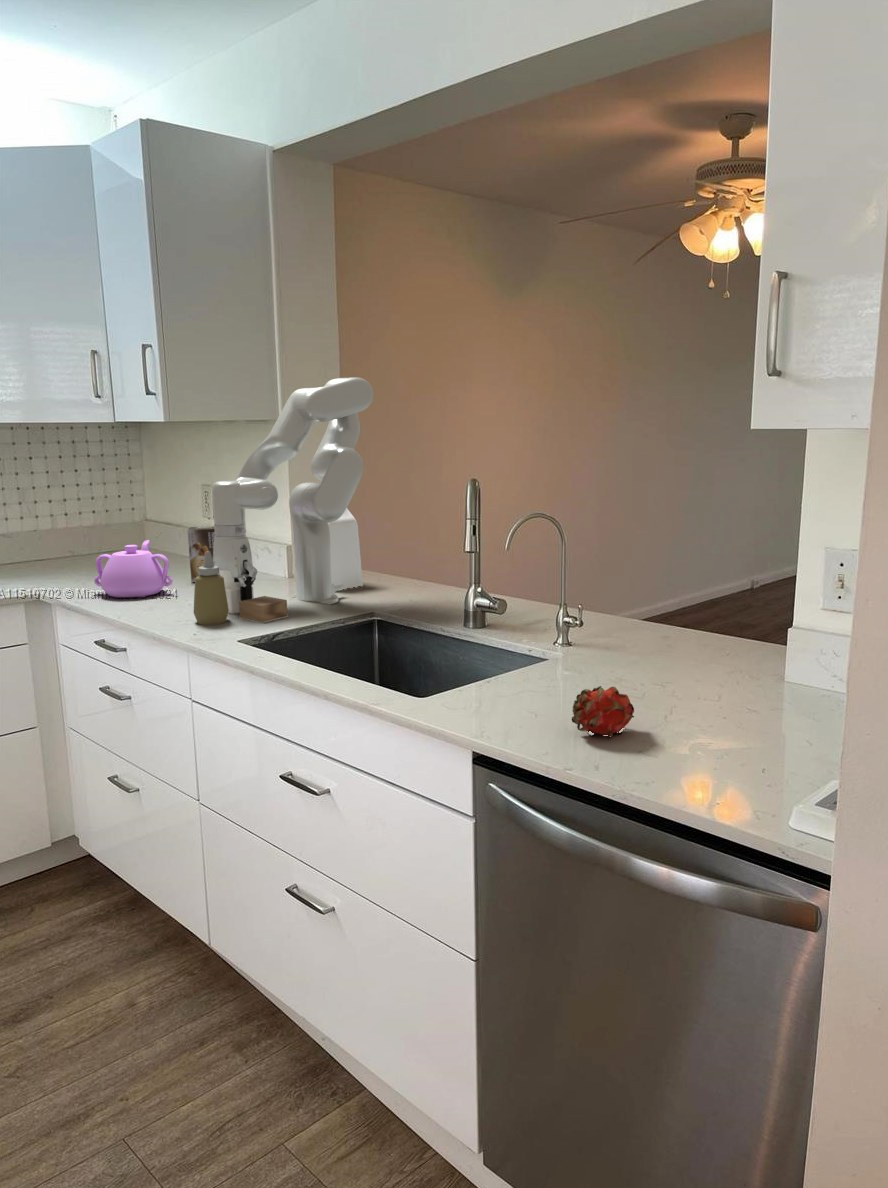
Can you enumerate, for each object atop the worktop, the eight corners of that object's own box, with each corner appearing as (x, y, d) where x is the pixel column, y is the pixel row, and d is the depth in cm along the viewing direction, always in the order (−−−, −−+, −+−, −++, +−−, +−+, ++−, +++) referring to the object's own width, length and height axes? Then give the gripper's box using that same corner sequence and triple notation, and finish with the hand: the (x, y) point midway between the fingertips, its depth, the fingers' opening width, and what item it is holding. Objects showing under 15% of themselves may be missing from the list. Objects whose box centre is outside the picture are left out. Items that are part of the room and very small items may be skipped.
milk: (328, 592, 256) (325, 499, 250) (305, 586, 264) (302, 496, 259) (362, 586, 264) (360, 496, 258) (339, 580, 272) (336, 493, 267)
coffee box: (225, 578, 277) (222, 525, 274) (221, 582, 271) (218, 528, 267) (194, 579, 276) (191, 526, 273) (190, 583, 270) (186, 529, 267)
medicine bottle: (237, 609, 234) (234, 563, 231) (255, 613, 229) (252, 566, 227) (214, 614, 228) (211, 567, 226) (232, 618, 224) (229, 570, 222)
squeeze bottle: (194, 631, 211) (189, 555, 208) (194, 624, 219) (189, 550, 215) (230, 629, 213) (226, 553, 210) (228, 621, 221) (224, 548, 217)
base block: (265, 611, 226) (264, 595, 225) (287, 616, 221) (286, 599, 220) (239, 617, 219) (238, 601, 218) (262, 622, 215) (261, 605, 214)
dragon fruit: (565, 748, 143) (624, 745, 148) (596, 731, 136) (657, 729, 142) (552, 697, 146) (611, 696, 152) (583, 677, 139) (643, 677, 145)
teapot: (187, 585, 267) (184, 538, 264) (163, 600, 246) (160, 550, 243) (113, 585, 267) (109, 538, 265) (83, 600, 246) (78, 550, 243)
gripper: (265, 532, 222) (268, 601, 226) (219, 527, 233) (223, 592, 236) (241, 535, 217) (245, 606, 220) (195, 530, 227) (199, 597, 230)
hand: (233, 599), depth 228 cm, fingers open, 9 cm apart
